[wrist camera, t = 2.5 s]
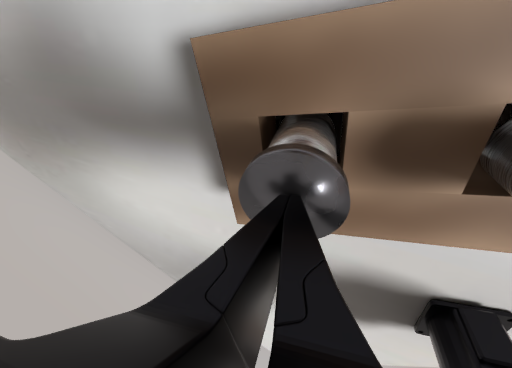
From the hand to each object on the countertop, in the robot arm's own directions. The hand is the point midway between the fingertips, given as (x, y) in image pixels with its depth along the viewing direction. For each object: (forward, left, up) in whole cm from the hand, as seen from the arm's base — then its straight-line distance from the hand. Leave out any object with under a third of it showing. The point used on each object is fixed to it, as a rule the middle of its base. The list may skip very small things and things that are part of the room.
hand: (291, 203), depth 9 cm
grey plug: (0, 0, -7) cm, 7 cm away
